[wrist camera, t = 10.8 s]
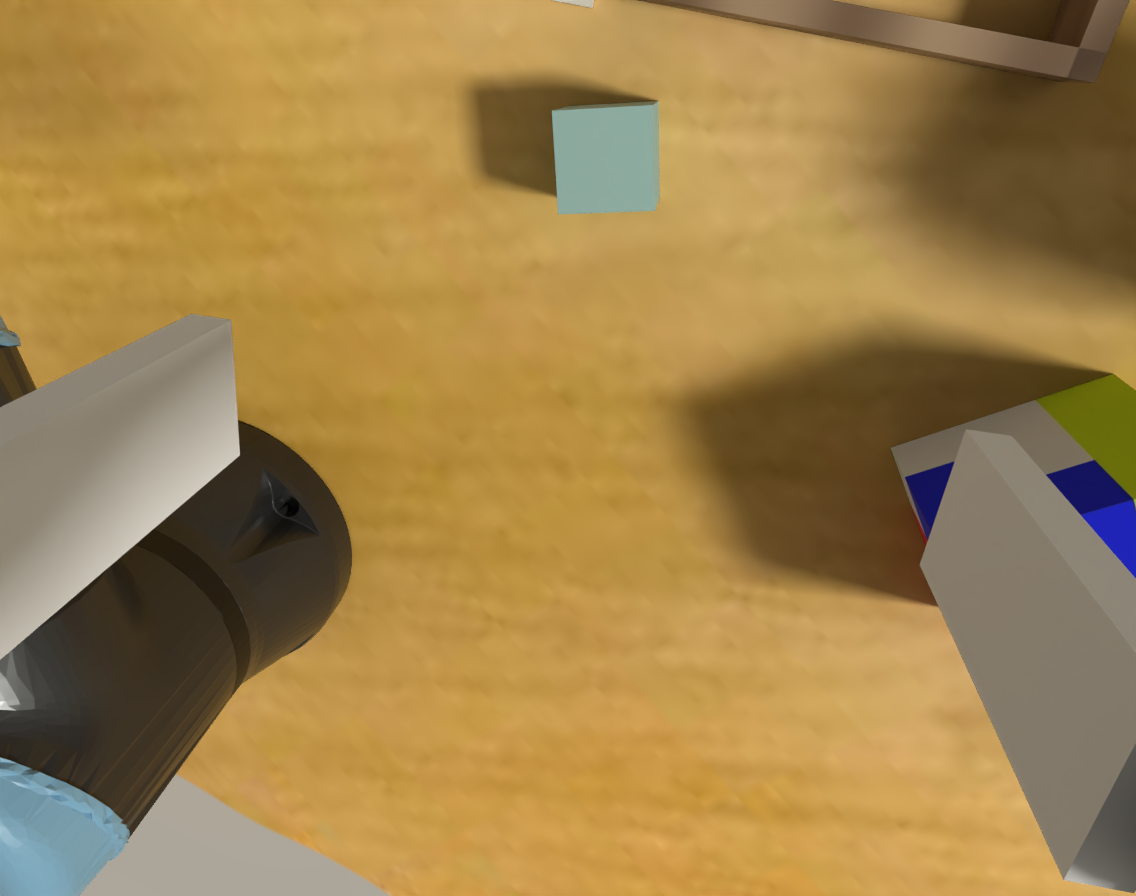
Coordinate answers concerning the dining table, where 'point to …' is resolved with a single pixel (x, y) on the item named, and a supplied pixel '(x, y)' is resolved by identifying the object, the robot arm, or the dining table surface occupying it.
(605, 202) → the teal block
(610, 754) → the dining table surface
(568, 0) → the strip
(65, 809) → the robot arm
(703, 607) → the dining table surface
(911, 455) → the puzzle toy
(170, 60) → the dining table surface
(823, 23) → the cubby
